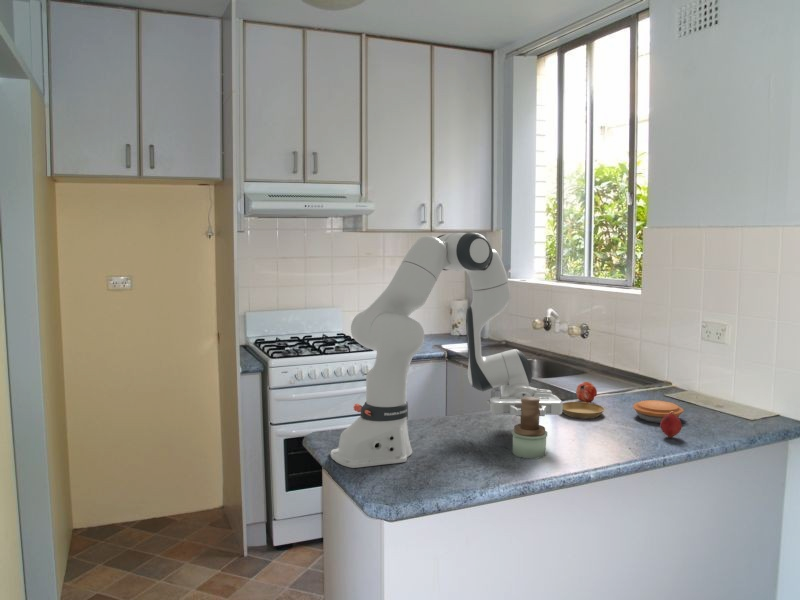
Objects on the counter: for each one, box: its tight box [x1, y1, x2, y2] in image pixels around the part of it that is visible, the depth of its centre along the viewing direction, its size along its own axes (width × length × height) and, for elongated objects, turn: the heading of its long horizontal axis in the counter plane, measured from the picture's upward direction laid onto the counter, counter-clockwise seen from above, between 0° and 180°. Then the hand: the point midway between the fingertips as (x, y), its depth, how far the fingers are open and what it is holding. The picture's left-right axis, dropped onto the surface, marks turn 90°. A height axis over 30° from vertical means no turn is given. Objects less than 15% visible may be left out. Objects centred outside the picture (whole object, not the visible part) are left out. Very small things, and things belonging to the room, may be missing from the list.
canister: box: [511, 428, 548, 460], centre depth 186 cm, size 10×10×6 cm
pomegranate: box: [575, 381, 598, 403], centre depth 242 cm, size 7×7×10 cm
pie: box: [632, 399, 684, 424], centre depth 221 cm, size 16×16×5 cm
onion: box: [659, 411, 683, 439], centre depth 200 cm, size 6×6×8 cm
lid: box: [513, 397, 546, 437], centre depth 185 cm, size 8×8×9 cm
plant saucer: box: [562, 401, 606, 419], centre depth 226 cm, size 15×15×3 cm
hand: (530, 413), depth 184 cm, fingers closed on lid, 5 cm apart
